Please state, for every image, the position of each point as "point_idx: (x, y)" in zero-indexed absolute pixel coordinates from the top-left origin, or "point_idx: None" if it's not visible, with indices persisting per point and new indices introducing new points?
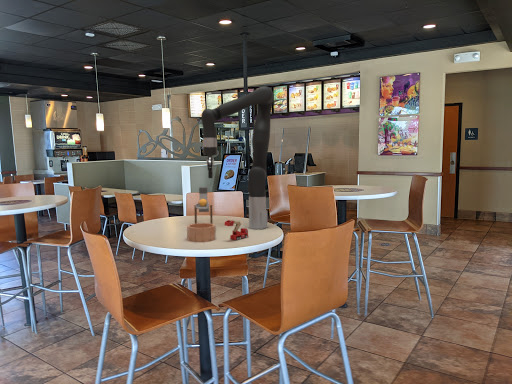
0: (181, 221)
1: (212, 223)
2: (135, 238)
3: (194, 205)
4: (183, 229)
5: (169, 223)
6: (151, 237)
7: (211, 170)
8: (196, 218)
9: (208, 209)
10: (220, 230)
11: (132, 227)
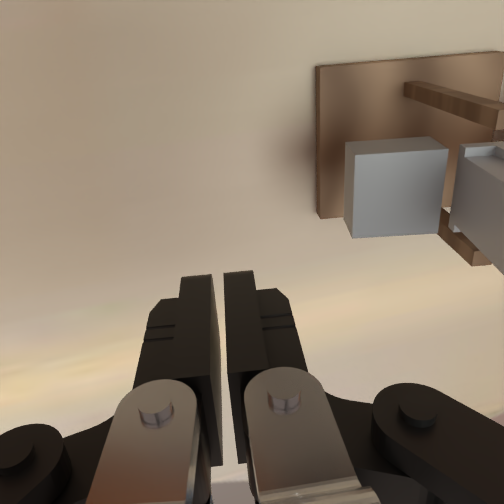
0: (45, 330)
1: (421, 86)
2: (482, 402)
3: (490, 264)
4: (304, 266)
5: (123, 372)
6: (478, 355)
7: (371, 405)
8: (442, 208)
9: (437, 142)
10: (358, 25)
11: (242, 479)
